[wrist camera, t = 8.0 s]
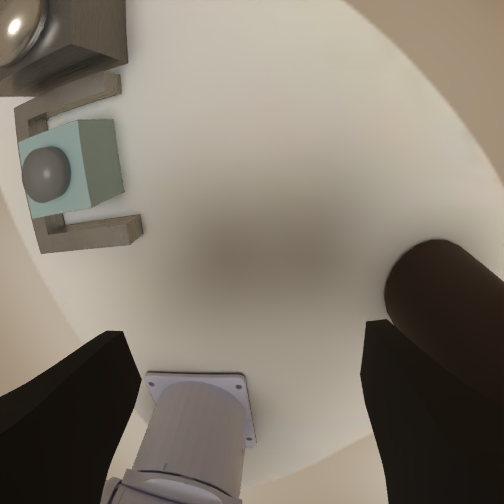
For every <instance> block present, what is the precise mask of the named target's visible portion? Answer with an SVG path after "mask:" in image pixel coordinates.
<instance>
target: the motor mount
mask: <svg viewBox="0 0 504 504" xmlns="http://www.w3.org/2000/svg"><path fill="white" fill-rule="evenodd" d="M126 63H128V56H127V40H126V17H125V0H0V97H18V96H23V97H36V98H34V99H32V100H29V101H27V102H25V103H23V104H21V105H19V106H17V107H15V108H14V113H15V125H16V134H17V143H18V142H20V141H23V140H25V139H27V138H30V137H32V136H35V135H37V134H40V133H43V132H45V131H48V129H47V120H46V119H47V118H49V117H52V116H54V115H57V114H60V113H62V112H65V111H68V110H71V109H73V108H76V107H79V106H82V105H85V104H88V103H91V102H94V101H97V100H100V99H104V98H107V97H110V96H114V95H117V94H121V83H120V75H119V74H115V73H111V72H108V71H104V70H107V69H110V68H113V67H117V66H120V65H123V64H126ZM18 150H19V144H18ZM19 157H20V152H19ZM20 164H21V159H20ZM21 170H22V165H21ZM25 192H26V191H25ZM26 197H27V193H26ZM27 201H28V198H27ZM28 206H29V202H28ZM29 210H30V207H29ZM30 215H31V211H30ZM31 219H32V216H31ZM32 223H33V227H34V231H35V235H36V238H37V242H38V245H39V249H40V252H41V254H45V253H54V252H64V251H73V250H83V249H93V248H103V247H114V246H124V245H131V244H132V243H133V242H134V241H135V240H136V239H137V238H139V237H140V236H141V235H142V234H143V230H142V225H141V220H140V215H134V216H126V217H119V218H111V219H104V220H97V221H90V222H84V223H77V224H71V225H65V224H64V220H63V215H62V213H59V214H54V215H49V216H44V217H39V218H34V219H32Z"/></svg>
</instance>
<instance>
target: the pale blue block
mask: <svg viewBox="0 0 504 504" xmlns="http://www.w3.org/2000/svg"><path fill="white" fill-rule="evenodd" d="M18 144H19V152H20V159H21V165H22V182H23V186H24V189H25V191H26V193H27V198H28V202H29V207H30V211H31V216H32V219H34V218H39V217H44V216H49V215H54V214H59V213H65V212H70V211H76V210H82V209H87V208H92V207H94V206H96V205H98V204H100V203H102V202H104V201H106V200H108V199H110V198H112V197H114V196H116V195H118V194H120V193H123V192H124V187H123V181H122V175H121V169H120V163H119V156H118V150H117V143H116V135H115V127H114V119H97V120H76V121H73V122H70V123H67V124H64V125H62V126H59V127H56V128H53V129H50V130H48V131H45V132H43V133H40V134H37V135H35V136H32V137H30V138H27V139H25V140H23V141H20V142H18Z"/></svg>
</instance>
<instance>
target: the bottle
mask: <svg viewBox="0 0 504 504" xmlns="http://www.w3.org/2000/svg"><path fill="white" fill-rule="evenodd" d="M385 301H386V307H387V312H388V314H389V316H390V318H391V320H392V322H393V324H394V326H395V327H396V328H398V329H399V330H400V331H401V332H402V333H403V334H404V335H405V336H407V337H408V338H409V339H410V340H411V341H412V342H413V343H415V344H416V345H417V346H418V347H419V348H420V349H422V350H423V351H424V352H425V353H426V354H427V355H429V356H430V357H431V358H432V359H434V360H435V361H436V362H437V363H439V364H440V365H441V366H442V367H444V368H445V369H446V370H448V371H449V372H450V373H452V374H453V375H454V376H456V377H457V378H458V379H460V380H461V381H462V382H464V383H465V384H467V385H468V386H470V387H471V388H473V389H474V390H476V391H478V392H479V393H481V394H483V395H484V396H486V397H487V398H489V399H491V400H492V401H494V402H496V403H498V404H500V405H502V406H503V407H504V282H503V281H502V280H501V279H500V278H498V277H497V276H496V275H495V274H494V273H493V272H491V271H490V270H489V269H488V268H487V267H485V266H484V265H483V264H482V263H480V262H479V261H478V260H477V259H475V258H474V257H473V256H472V255H470V254H469V253H468V252H467V251H465V250H464V249H463V248H462V247H460V246H459V245H456V244H454V243H452V242H449V241H446V240H432V241H429V242H426V243H423V244H420V245H418V246H416V247H415V248H414V249H412V250H411V251H409V252H408V253H407V254H405V255H404V256H403V258H402V259H401V260H400V261H399V262H398V264H397V265H396V266H395V267H394V269H393V271H392V273H391V276H390V278H389V280H388V282H387V288H386V294H385Z"/></svg>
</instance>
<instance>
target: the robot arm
mask: <svg viewBox="0 0 504 504" xmlns="http://www.w3.org/2000/svg"><path fill="white" fill-rule="evenodd" d="M360 377H361V382H362V388H363V394H364V400H365V405H366V408H367V412H368V415H369V418H370V422H371V425H372V429H373V432H374V436H375V439H376V442H377V446H378V449H379V453H380V456H381V460H382V464H383V468H384V473H385V478H386V486H387V494H388V502H389V504H504V407H503V406H502V405H500V404H498V403H496V402H494V401H492V400H491V399H489V398H487V397H486V396H484V395H483V394H481V393H479V392H478V391H476V390H474V389H473V388H471V387H470V386H468V385H467V384H465V383H464V382H462V381H461V380H460V379H458V378H457V377H456V376H454V375H453V374H452V373H450V372H449V371H448V370H446V369H445V368H444V367H442V366H441V365H440V364H439V363H437V362H436V361H435V360H434V359H432V358H431V357H430V356H429V355H427V354H426V353H425V352H424V351H423V350H422V349H420V348H419V347H418V346H417V345H416V344H415V343H413V342H412V341H411V340H410V339H409V338H408V337H407V336H405V335H404V334H403V333H402V332H401V331H400V330H399V329H398V328H396V327H395V326H394V325H393V324H392V323H391V322H389V321H388V320H387V319H384V320H376V321H367V322H366V330H365V339H364V348H363V357H362V364H361V372H360ZM144 379H145V382H146V384H147V386H148V389H149V391H150V393H151V396H152V398H153V400H154V403H155V405H156V407H155V410H154V412H153V415H152V418H151V420H150V423H149V425H148V428H147V431H146V433H145V436H144V438H143V441H142V444H141V446H140V449H139V452H138V454H137V457H136V459H135V462H134V465H133V468H132V470H131V469H127V470H126V472H125V474H124V477H123V480H121V479H119V478H116V477H112V478H110V479H109V480H106V476H107V473H108V469H109V466H110V463H111V461H112V458H113V456H114V453H115V451H116V448H117V446H118V444H119V442H120V439H121V437H122V434H123V432H124V430H125V427H126V425H127V423H128V421H129V418H130V416H131V413H132V411H133V409H134V406H135V403H136V399H137V396H138V392H139V388H140V384H141V380H142V379H141V377H140V374H139V372H138V369H137V367H136V364H135V362H134V359H133V357H132V354H131V352H130V349H129V346H128V344H127V341H126V338H125V336H124V333H123V331H105V332H104V333H102V334H100V335H98V336H97V337H95V338H94V339H92V340H90V341H89V342H87V343H86V344H84V345H83V346H82V347H80V348H79V349H77V350H76V351H75V352H73V353H72V354H70V355H68V356H67V357H66V358H64V359H63V360H61V361H60V362H58V363H57V364H55V365H54V366H52V367H51V368H49V369H48V370H46V371H45V372H43V373H42V374H40V375H38V376H37V377H35V378H34V379H32V380H31V381H29V382H27V383H26V384H24V385H22V386H20V387H19V388H17V389H15V390H13V391H11V392H9V393H8V394H5V395H3V396H1V397H0V504H242V500H241V499H239V495H240V487H241V479H242V470H243V461H244V452H245V447H255V446H256V437H255V432H254V426H253V421H252V415H251V410H250V404H249V398H248V392H247V387H246V381H245V377H244V376H242V375H238V374H231V375H207V374H169V373H150V372H149V373H146V375H145V377H144ZM152 382H153V383H152ZM238 385H241V386H238Z"/></svg>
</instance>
